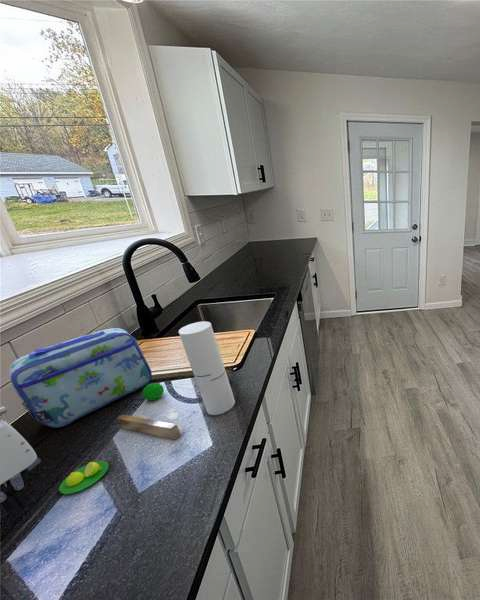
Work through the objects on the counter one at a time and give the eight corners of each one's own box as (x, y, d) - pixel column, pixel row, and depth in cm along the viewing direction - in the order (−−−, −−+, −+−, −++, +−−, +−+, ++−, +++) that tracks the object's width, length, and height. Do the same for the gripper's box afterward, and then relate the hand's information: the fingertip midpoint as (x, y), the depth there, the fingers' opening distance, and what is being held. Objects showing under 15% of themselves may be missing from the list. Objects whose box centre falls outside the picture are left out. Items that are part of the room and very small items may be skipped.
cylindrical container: (208, 402, 91) (181, 325, 81) (235, 395, 93) (212, 319, 84) (205, 418, 84) (175, 336, 75) (234, 410, 87) (209, 330, 78)
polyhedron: (152, 405, 91) (146, 391, 89) (141, 401, 93) (136, 388, 91) (169, 394, 95) (164, 381, 93) (159, 391, 97) (153, 378, 95)
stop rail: (122, 428, 82) (117, 418, 81) (128, 424, 84) (123, 413, 83) (175, 439, 78) (170, 428, 77) (181, 434, 79) (176, 424, 78)
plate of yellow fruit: (101, 457, 74) (97, 448, 73) (115, 472, 70) (110, 462, 69) (55, 485, 67) (49, 475, 66) (67, 502, 64) (61, 493, 62)
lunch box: (41, 439, 80) (-1, 370, 73) (35, 422, 87) (-5, 357, 79) (158, 385, 100) (134, 326, 92) (146, 374, 106) (123, 318, 98)
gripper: (9, 400, 59) (54, 470, 66) (-130, 467, 46) (-55, 546, 53) (35, 405, 57) (79, 476, 64) (-102, 476, 44) (-28, 557, 51)
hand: (18, 507), depth 59 cm, fingers closed
